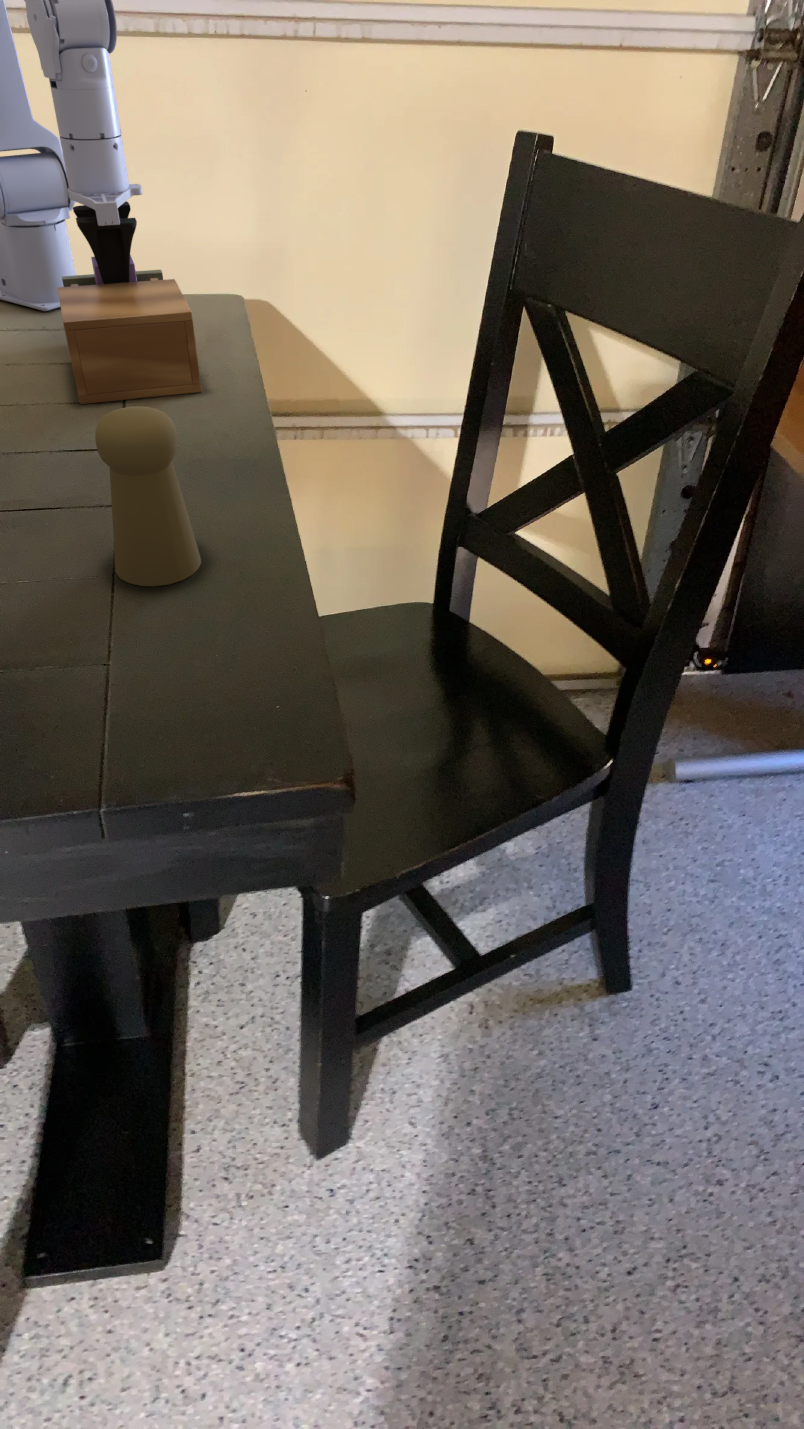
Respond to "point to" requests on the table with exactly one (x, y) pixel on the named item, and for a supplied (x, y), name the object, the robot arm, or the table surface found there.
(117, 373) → the cabinet
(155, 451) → the tan pawn
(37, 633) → the table surface
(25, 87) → the robot arm
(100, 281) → the block
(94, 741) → the table surface
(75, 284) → the drawer
